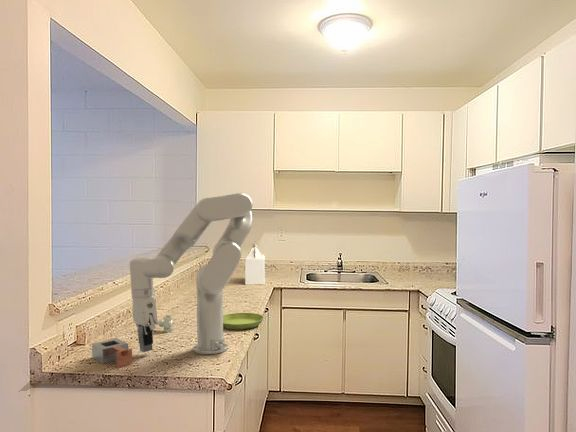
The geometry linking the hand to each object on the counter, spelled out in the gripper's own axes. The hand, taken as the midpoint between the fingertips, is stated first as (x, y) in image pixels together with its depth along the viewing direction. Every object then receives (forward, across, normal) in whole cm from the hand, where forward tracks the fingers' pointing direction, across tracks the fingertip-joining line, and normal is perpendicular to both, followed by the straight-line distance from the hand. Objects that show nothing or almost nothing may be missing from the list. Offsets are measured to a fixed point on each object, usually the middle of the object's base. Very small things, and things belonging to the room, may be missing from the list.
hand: (145, 343), depth 160 cm
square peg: (+3, 0, 0) cm, 3 cm away
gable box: (+8, +87, -128) cm, 155 cm away
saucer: (+7, +8, -50) cm, 51 cm away
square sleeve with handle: (+4, +3, +10) cm, 11 cm away
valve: (+5, +25, -20) cm, 32 cm away
